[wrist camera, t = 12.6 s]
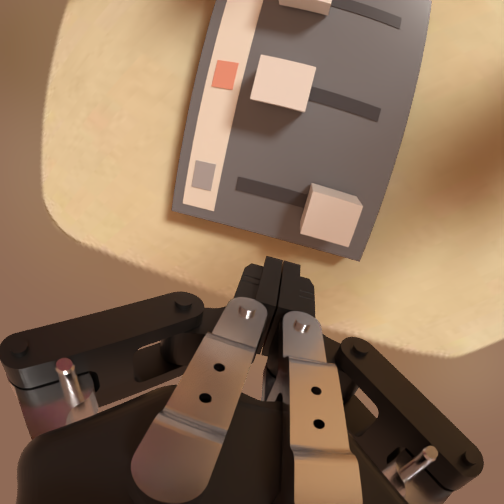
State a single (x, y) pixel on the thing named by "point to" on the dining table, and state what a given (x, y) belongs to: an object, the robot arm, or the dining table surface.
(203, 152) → the switch housing
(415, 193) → the dining table surface
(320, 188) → the tab
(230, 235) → the dining table surface
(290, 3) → the white block
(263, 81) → the tab
